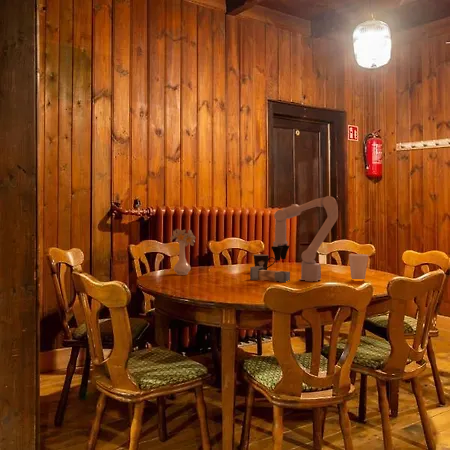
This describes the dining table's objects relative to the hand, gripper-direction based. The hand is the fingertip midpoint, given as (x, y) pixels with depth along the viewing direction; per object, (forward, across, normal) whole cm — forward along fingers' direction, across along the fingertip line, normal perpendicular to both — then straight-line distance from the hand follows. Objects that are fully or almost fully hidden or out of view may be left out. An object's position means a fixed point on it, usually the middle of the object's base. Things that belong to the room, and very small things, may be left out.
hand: (280, 259), depth 245 cm
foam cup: (+10, -15, +36) cm, 40 cm away
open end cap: (+10, +7, +4) cm, 12 cm away
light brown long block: (+10, +6, -4) cm, 13 cm away
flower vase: (+10, +10, -53) cm, 55 cm away
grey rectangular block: (+10, +6, -10) cm, 16 cm away
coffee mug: (+10, -19, -18) cm, 28 cm away
